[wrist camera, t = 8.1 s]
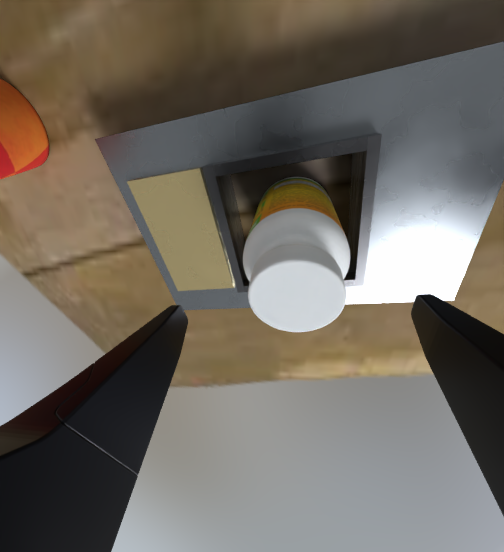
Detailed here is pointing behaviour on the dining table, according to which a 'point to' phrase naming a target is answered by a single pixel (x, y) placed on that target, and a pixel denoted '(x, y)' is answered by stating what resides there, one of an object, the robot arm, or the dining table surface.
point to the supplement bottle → (296, 257)
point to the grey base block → (321, 144)
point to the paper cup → (20, 133)
